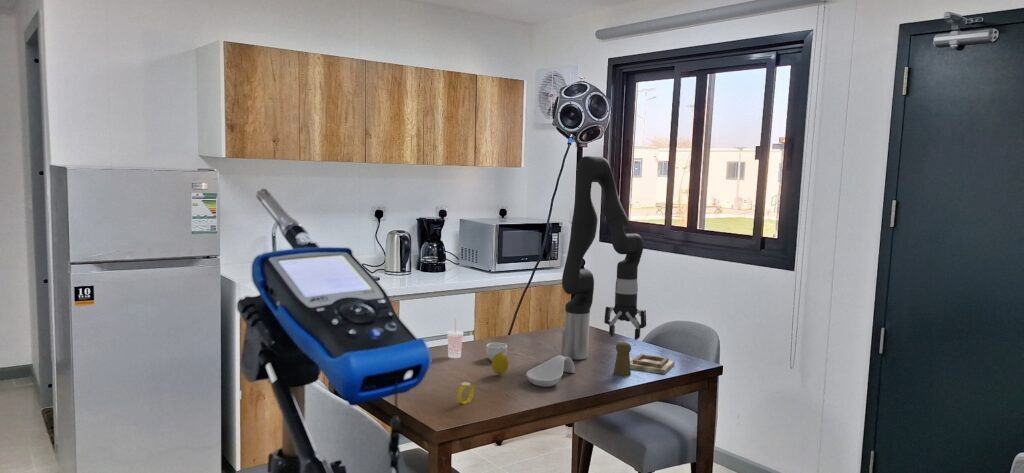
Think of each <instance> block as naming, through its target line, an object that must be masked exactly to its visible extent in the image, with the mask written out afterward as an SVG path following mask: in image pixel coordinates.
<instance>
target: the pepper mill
mask: <svg viewBox="0 0 1024 473" xmlns="http://www.w3.org/2000/svg"><path fill="white" fill-rule="evenodd" d="M615 350H616V358H615V363H614V368H613V375H615V376H617V377H630V376H631V375H632V372H631V371H632V370H631V369H630V361H631V358H630V352H631V350H632V345H631V344H630V343H629V342H624V341H623V342H622V341H620V342H617V344H616V345H615Z"/></svg>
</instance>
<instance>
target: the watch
mask: <svg viewBox="0 0 1024 473" xmlns="http://www.w3.org/2000/svg"><path fill="white" fill-rule="evenodd" d="M465 388H469V394H468V398H467V399H466V400H464V401H463V400H462V394H463V392H464V390H465ZM474 390H475V389H474V387H473V385H472V384H471V383H470V382H467V381H464V382H461V384H460V387H459V388H458V391H457V396H456V398H457V402H458V403H459V404H462V405H467V404H469V403H471V401H472V400H473V397H474V395H475V394H474V393H475V391H474Z"/></svg>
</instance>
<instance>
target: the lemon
mask: <svg viewBox="0 0 1024 473" xmlns="http://www.w3.org/2000/svg"><path fill="white" fill-rule="evenodd" d="M491 367H492V370H493V372H494V373H495V374H497V375H498V376H502V375H503V374H504V373H506V372H507V371H508V368H509V359H508V357H507V354H506V355H505V354H503V353H502V352H499V353H498V354H496V355H495V356H494V357H493V360H491Z"/></svg>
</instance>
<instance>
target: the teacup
mask: <svg viewBox="0 0 1024 473" xmlns="http://www.w3.org/2000/svg"><path fill="white" fill-rule="evenodd" d="M485 350H486V356H487V358H488V359H489V360H490V361H492V360H493V357H494V356H495V355H496V354H498V353H499V352H502V353H503V354H505V355H506V356H507V354H508V345H507V343H504V342H489V343H487V344H486V345H485Z"/></svg>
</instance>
